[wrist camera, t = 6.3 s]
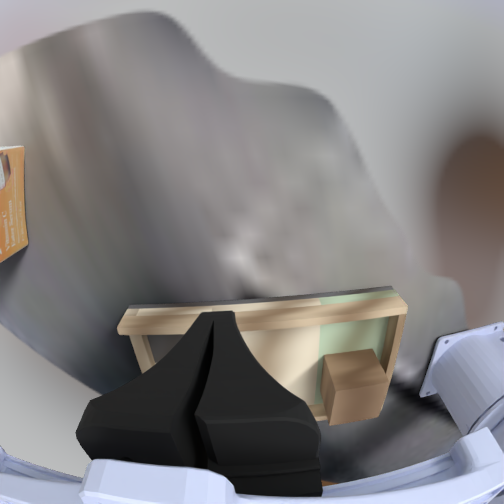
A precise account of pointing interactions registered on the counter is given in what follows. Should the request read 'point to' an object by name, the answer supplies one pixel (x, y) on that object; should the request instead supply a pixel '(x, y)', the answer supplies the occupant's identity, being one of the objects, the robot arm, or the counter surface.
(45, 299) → the counter surface
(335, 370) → the walnut block
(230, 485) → the robot arm
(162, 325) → the tray
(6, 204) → the small box
